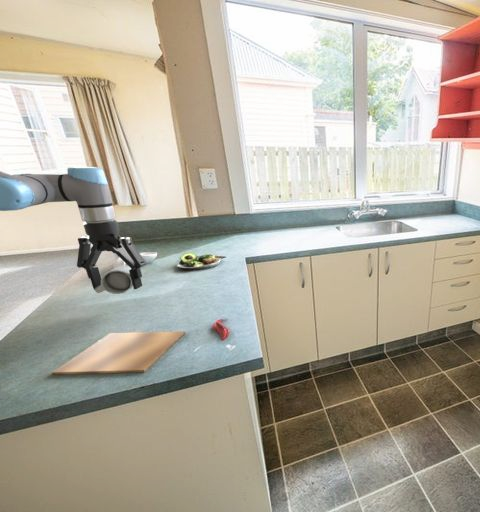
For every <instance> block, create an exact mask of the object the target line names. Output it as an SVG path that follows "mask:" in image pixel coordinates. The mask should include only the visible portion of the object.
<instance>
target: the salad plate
mask: <svg viewBox="0 0 480 512" xmlns="http://www.w3.org/2000/svg"><path fill="white" fill-rule="evenodd" d="M227 257H228V256H226V255H217V254H212V253H209V254H208V253H205V254H202V255H197V254H195V253H193V252H186V253H184V254H182V255H181V256H180V259H179V260H180V261H179V262H178V263H177V264H178V265H177V269H179V270H180V271H182V272H183V271H185V272H188V271H189V272H190V271H195V270H196V271H197V270H203V269H208V268H213V267H215V266H218V265H219V264H220V263H221V261H222V260H223V259H226V258H227Z"/></svg>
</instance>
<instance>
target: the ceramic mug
mask: <svg viewBox="0 0 480 512" xmlns="http://www.w3.org/2000/svg"><path fill="white" fill-rule="evenodd" d="M130 269H131V268H130V267H129V266H128V265H125V266H118V267H115V268H114V267H113V268H112V269H111V270H109V271H107V272H106V273H104V274H103V276H101V285H100V286H98V287H96V288H95V289H93V290H94V291H95V292H96V294H100V293H103V292H105V291H106V292H107V293H109V294H114V295H120V294H124V293H127V292H128V291H129V290H130V289H131V288H133V284H132V280H131V276H130V272H129V270H130Z"/></svg>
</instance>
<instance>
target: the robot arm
mask: <svg viewBox="0 0 480 512" xmlns="http://www.w3.org/2000/svg"><path fill="white" fill-rule="evenodd" d="M61 202H62V203H63V202H76V204H77V208H78V211H79V214H80V218H81V221H82V222H83V228H84V231H85V234H86V236H82V237H77V243H78V253H77V261H76V267H77V268H79V269H80V268H82V269H84V270H85V271H86V275H87V277H88V279H90V282H91V286H92V288H93V290H94V289H95V288H96V287H98V286H100V285H101V279H102V276H101V273H100V268H99V266H98V265H97V262H98V260H99V258H100V257H101V254H102V253H103V252H112V253H113V254H115V255H116V256H118V258H119V257H120V258H121V259H122V260H123V261H124V262H125V265H126V266H129V267H130V268H131V269H130V270H129V272H130V276H131V280H132V284H133V286H132V288H133V290H138V289H139V288H142V287H143V282H142V278H143V274H142V270H141V268H142V267H145V266H147V264H146V262H145V261H144V259H143V258H142V256H141V255H140V253H141V252H140V251H139V249H137V247H136V246H135V244H134V242H133V238H132V237H131V236H125V237H121V236H120V234H119V233H120V227H119V222H118V221H117V220H116V218H117V216H116V212H115V207H114V203H113V201H112V196H111V192H110V188H109V182H108V181H107V177H106V173H105V171H104V170H103V169H102V168H100V167H97V166H70V167H68V168H67V173H63V174H55V173H54V174H52V173H51V174H50V173H49V174H47V173H20V174H19V173H18V174H17V173H16V174H9V173H6V172H4V171H0V212H9V211H19V210H23V209H27V208H30V207H34V206H38V205H44V204H48V203H61ZM91 245H92V246H91Z"/></svg>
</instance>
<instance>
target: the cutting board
mask: <svg viewBox="0 0 480 512" xmlns="http://www.w3.org/2000/svg"><path fill="white" fill-rule="evenodd" d="M184 335H186V331H185V330H184V331H182V330H181V331H133V332H131V331H130V332H110V333H108V334H106V335H105V336H104V337H102V338H100V339H99V340H98V341H96V342H94V343H93V344H91V345H90V346H88V347H87V348H86V349H84V350H83V351H82V352H80V353H78V354H77V355H76V356H74V357H73V358H71V359H69V360H68V361H66V362H65V363H63V364H62V365H61V366H59V367H57V368H56V369H55V370H53V371H52V372H51V374H52V375H54V376H55V375H89V374H92V375H93V374H123V373H124V374H125V373H127V374H128V373H129V374H130V373H146V371H147V370H149V368H151V367H152V366H153V365H154V364H155V363H157V361H158V360H159V359H160V358H161V357H162V356H163V355H164V354H166V353H167V352H168V351H169V350H170V349H171V348H172V347H173V346H174V345H175V344H176V343H177V342H179V340H180V339H181V338H183V336H184Z"/></svg>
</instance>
